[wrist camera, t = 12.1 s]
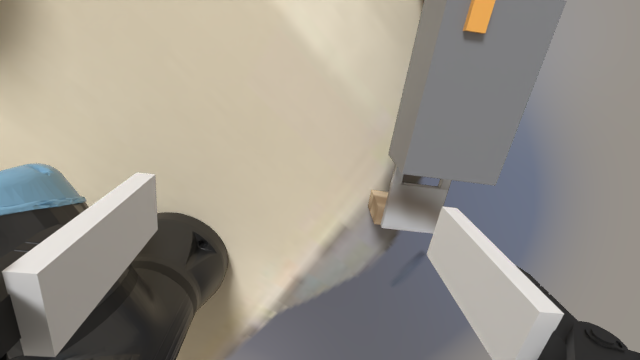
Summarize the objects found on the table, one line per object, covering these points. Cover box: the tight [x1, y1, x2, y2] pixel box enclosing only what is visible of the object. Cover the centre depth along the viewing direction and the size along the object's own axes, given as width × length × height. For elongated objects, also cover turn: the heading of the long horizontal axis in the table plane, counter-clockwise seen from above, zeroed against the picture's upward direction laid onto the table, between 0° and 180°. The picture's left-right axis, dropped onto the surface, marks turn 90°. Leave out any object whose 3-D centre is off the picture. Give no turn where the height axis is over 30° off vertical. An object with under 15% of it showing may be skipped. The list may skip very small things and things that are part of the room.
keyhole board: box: [368, 165, 452, 234], centre depth 37 cm, size 30×8×6 cm, turn 172°
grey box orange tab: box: [388, 0, 566, 185], centre depth 33 cm, size 16×9×12 cm, turn 172°
